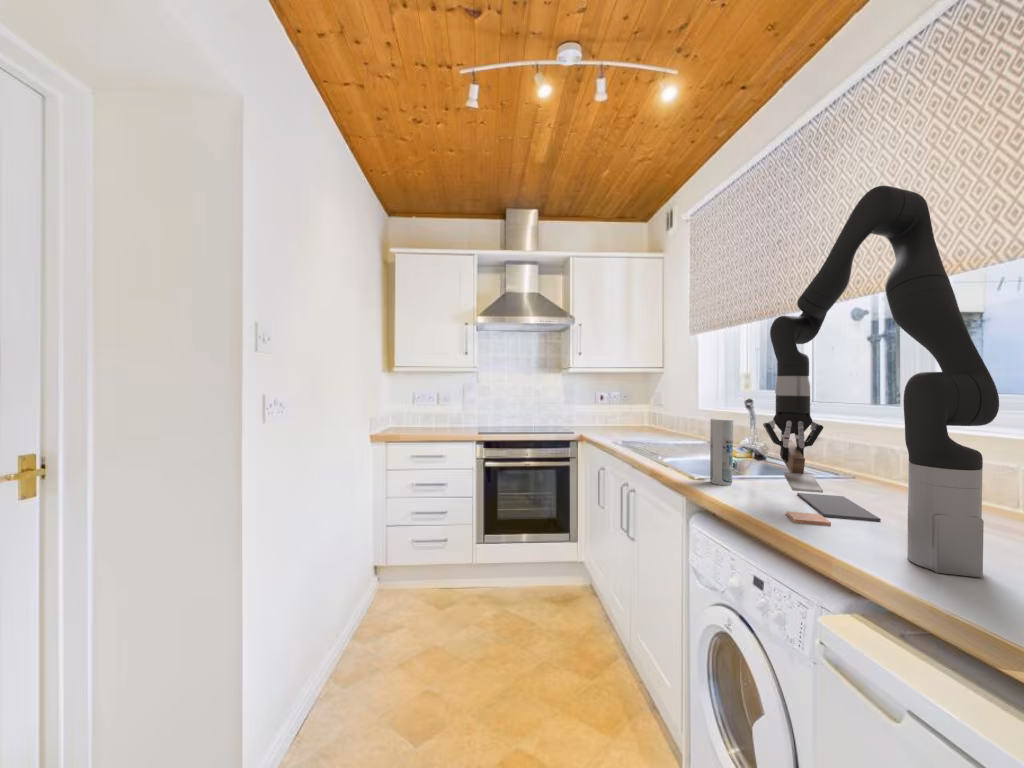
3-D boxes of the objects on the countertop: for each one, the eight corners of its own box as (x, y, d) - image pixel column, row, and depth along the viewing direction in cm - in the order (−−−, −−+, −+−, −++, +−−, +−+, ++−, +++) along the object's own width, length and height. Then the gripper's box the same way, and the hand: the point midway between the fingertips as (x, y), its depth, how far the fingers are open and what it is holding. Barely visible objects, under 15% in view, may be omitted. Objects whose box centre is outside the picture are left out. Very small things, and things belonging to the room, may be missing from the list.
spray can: (715, 480, 147) (715, 417, 147) (736, 483, 142) (736, 419, 142) (706, 482, 142) (706, 418, 142) (727, 486, 138) (728, 420, 138)
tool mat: (880, 521, 104) (880, 518, 104) (824, 516, 107) (824, 514, 107) (843, 498, 125) (843, 496, 125) (797, 494, 128) (797, 492, 128)
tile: (819, 519, 107) (830, 528, 100) (786, 516, 109) (794, 524, 102) (819, 514, 107) (830, 522, 100) (786, 511, 109) (794, 519, 102)
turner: (772, 454, 124) (773, 439, 122) (797, 455, 122) (799, 440, 121) (792, 490, 105) (794, 472, 104) (822, 492, 103) (825, 474, 102)
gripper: (765, 393, 115) (765, 462, 115) (829, 394, 111) (829, 466, 111) (759, 393, 122) (758, 458, 122) (818, 394, 118) (818, 461, 118)
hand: (792, 461), depth 116 cm, fingers closed on turner, 2 cm apart
